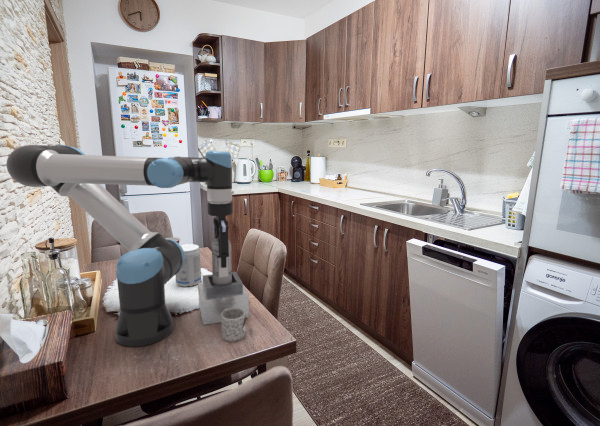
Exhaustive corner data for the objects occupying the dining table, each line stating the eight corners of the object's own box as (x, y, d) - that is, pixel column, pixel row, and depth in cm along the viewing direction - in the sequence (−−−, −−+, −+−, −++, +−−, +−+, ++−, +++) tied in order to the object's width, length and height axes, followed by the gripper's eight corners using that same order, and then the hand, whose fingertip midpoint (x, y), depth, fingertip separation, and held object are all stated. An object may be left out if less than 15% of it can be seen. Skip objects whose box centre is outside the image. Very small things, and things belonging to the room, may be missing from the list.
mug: (248, 337, 93) (248, 315, 92) (226, 344, 90) (225, 321, 88) (235, 321, 102) (235, 301, 100) (214, 327, 98) (214, 306, 97)
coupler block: (203, 325, 99) (201, 291, 97) (198, 304, 112) (197, 274, 110) (248, 317, 104) (248, 284, 102) (239, 298, 117) (239, 269, 115)
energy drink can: (234, 285, 105) (233, 240, 102) (215, 289, 102) (214, 242, 99) (228, 279, 110) (227, 236, 107) (210, 282, 107) (209, 238, 104)
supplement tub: (195, 276, 137) (194, 242, 134) (205, 283, 129) (203, 247, 127) (172, 281, 131) (170, 246, 128) (180, 289, 123) (178, 252, 121)
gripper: (238, 206, 94) (239, 282, 98) (227, 197, 111) (228, 262, 115) (211, 207, 91) (213, 285, 95) (204, 197, 108) (206, 264, 113)
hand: (221, 272), depth 105 cm, fingers closed on energy drink can, 6 cm apart
